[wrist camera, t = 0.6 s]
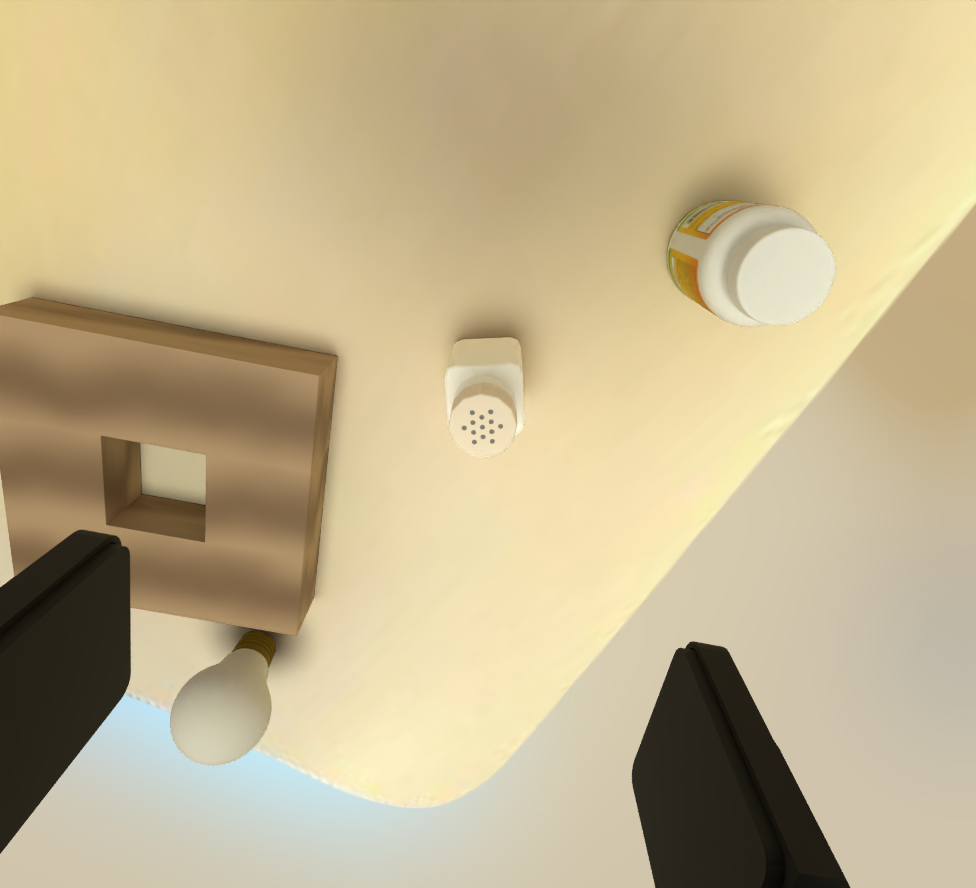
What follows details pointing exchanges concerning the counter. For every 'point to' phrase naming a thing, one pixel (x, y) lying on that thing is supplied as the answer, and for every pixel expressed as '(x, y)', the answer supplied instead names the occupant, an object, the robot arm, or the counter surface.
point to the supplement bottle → (751, 263)
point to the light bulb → (225, 704)
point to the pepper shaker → (485, 395)
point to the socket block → (173, 424)
